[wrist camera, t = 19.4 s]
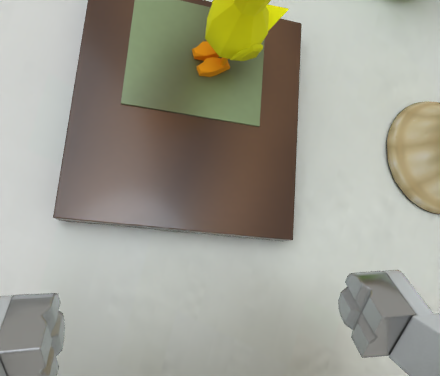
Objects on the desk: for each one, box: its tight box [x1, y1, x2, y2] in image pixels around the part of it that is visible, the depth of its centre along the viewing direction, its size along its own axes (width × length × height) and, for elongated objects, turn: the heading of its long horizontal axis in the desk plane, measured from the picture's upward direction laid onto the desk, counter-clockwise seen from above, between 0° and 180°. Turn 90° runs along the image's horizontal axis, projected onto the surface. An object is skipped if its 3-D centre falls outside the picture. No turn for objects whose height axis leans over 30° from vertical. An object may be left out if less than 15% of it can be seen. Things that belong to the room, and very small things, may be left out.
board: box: [53, 0, 301, 241], centre depth 22 cm, size 13×14×2 cm
